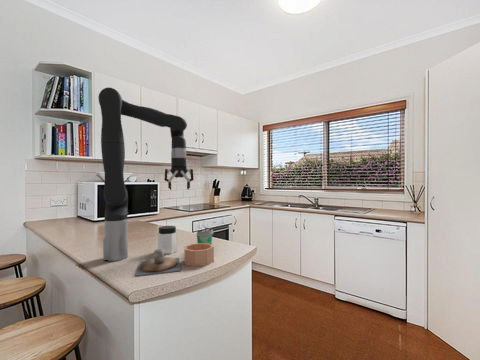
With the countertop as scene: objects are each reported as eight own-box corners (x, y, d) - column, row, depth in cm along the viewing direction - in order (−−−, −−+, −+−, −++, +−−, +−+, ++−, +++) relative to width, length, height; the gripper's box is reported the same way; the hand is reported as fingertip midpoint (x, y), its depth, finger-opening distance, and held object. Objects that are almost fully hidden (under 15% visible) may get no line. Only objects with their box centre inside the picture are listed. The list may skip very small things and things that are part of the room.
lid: (138, 274, 88) (138, 257, 88) (142, 262, 101) (142, 247, 101) (177, 269, 91) (177, 253, 92) (176, 258, 105) (176, 244, 105)
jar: (156, 254, 112) (156, 229, 112) (158, 250, 120) (158, 226, 120) (176, 253, 114) (176, 228, 114) (177, 248, 122) (176, 225, 122)
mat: (135, 276, 86) (135, 275, 86) (140, 262, 102) (140, 261, 102) (180, 271, 91) (180, 270, 91) (179, 258, 106) (179, 257, 106)
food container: (209, 253, 113) (208, 232, 113) (196, 253, 114) (196, 232, 114) (216, 246, 125) (216, 227, 125) (205, 246, 126) (205, 227, 126)
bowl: (185, 267, 95) (185, 251, 95) (183, 258, 107) (183, 244, 107) (215, 263, 99) (215, 249, 99) (210, 255, 110) (210, 242, 110)
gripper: (164, 156, 117) (164, 190, 116) (193, 157, 121) (194, 189, 120) (164, 158, 124) (164, 189, 124) (192, 158, 128) (192, 189, 128)
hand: (179, 189), depth 122 cm, fingers open, 8 cm apart
